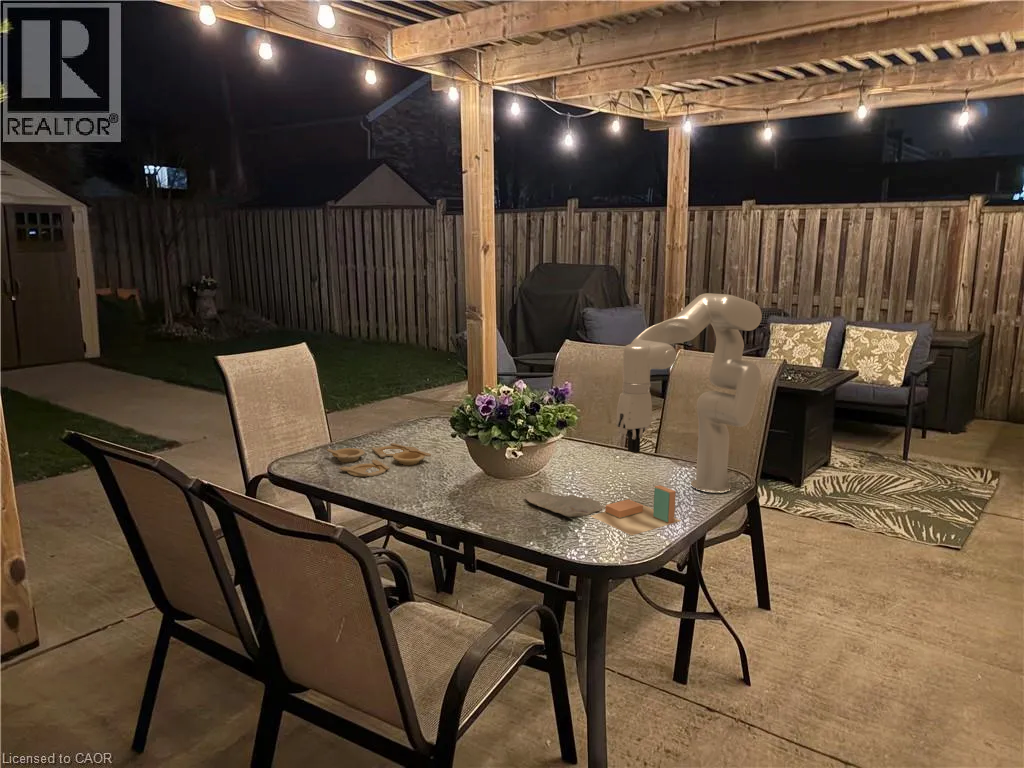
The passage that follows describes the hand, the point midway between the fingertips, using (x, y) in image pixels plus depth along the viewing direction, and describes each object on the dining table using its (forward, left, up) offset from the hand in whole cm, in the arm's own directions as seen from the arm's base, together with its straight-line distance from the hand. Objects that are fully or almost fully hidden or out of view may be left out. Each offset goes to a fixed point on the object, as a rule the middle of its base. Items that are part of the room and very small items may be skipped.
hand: (633, 451), depth 204 cm
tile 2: (-3, +10, -18) cm, 21 cm away
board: (+3, +5, -19) cm, 20 cm away
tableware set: (+39, -89, -20) cm, 99 cm away
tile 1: (-2, 0, -17) cm, 17 cm away
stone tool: (+13, -16, -20) cm, 28 cm away
